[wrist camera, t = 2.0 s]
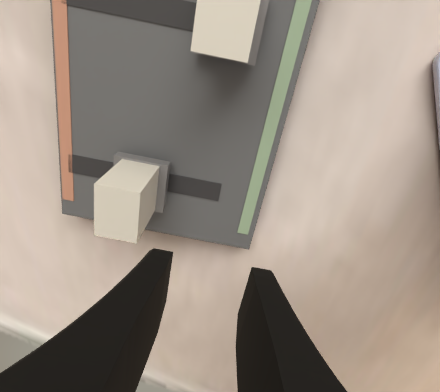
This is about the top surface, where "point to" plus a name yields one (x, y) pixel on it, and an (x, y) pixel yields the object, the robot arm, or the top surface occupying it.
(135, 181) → the handle
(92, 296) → the top surface
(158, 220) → the board
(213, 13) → the cream small block
